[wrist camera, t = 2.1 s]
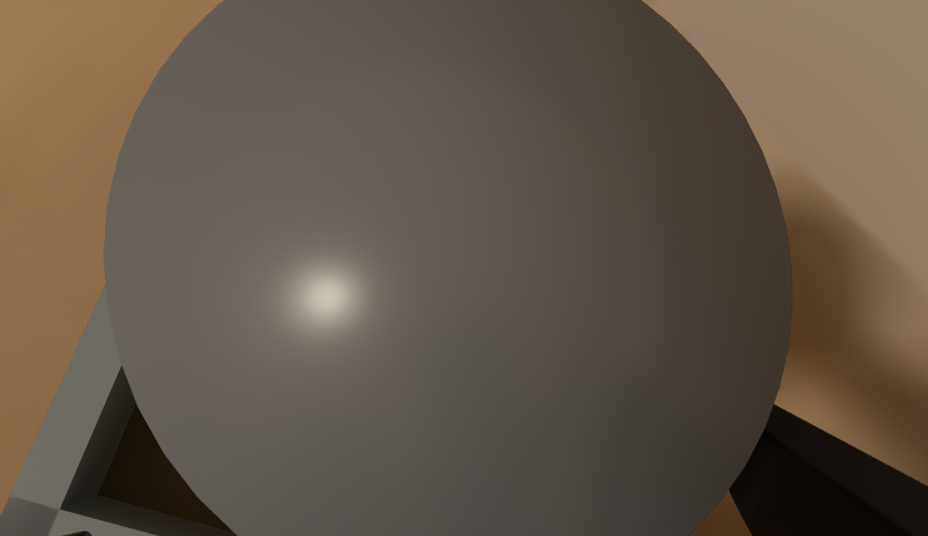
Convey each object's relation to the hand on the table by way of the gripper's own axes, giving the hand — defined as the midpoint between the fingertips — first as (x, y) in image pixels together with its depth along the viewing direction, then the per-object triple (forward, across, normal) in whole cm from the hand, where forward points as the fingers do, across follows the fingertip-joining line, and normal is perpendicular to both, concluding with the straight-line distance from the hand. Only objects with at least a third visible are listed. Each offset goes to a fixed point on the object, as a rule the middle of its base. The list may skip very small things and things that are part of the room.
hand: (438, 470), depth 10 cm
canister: (+8, 0, +5) cm, 10 cm away
